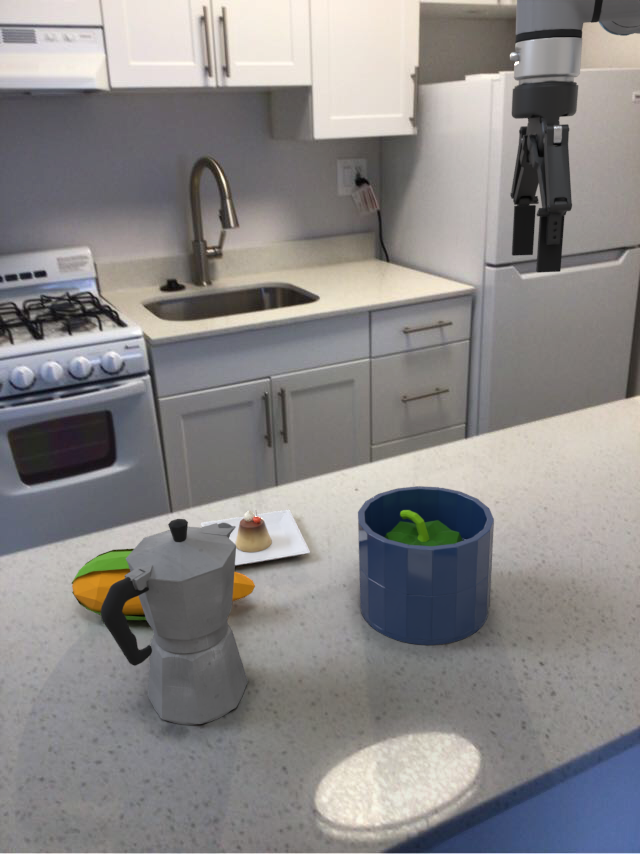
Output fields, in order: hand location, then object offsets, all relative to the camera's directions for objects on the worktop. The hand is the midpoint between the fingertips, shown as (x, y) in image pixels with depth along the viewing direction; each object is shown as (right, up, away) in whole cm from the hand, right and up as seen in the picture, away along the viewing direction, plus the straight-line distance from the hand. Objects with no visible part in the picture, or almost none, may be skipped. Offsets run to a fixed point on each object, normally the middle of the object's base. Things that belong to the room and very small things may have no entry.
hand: (534, 263), depth 97 cm
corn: (-44, -42, -14) cm, 62 cm away
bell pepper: (-16, -40, -15) cm, 45 cm away
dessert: (-36, -36, -1) cm, 51 cm away
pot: (-16, -41, -15) cm, 46 cm away
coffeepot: (-40, -46, -27) cm, 67 cm away
